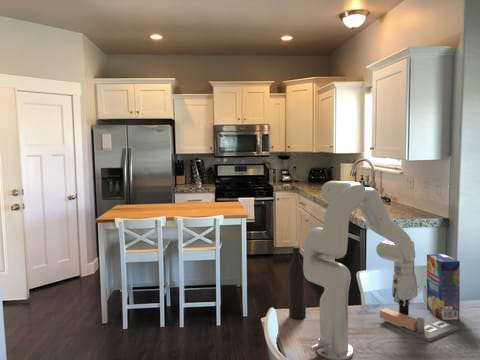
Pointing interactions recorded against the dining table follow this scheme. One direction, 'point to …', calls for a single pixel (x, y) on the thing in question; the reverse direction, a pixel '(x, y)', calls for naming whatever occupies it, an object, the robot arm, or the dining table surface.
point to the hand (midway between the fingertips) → (403, 314)
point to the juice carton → (443, 286)
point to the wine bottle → (296, 287)
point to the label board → (431, 328)
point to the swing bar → (399, 318)
